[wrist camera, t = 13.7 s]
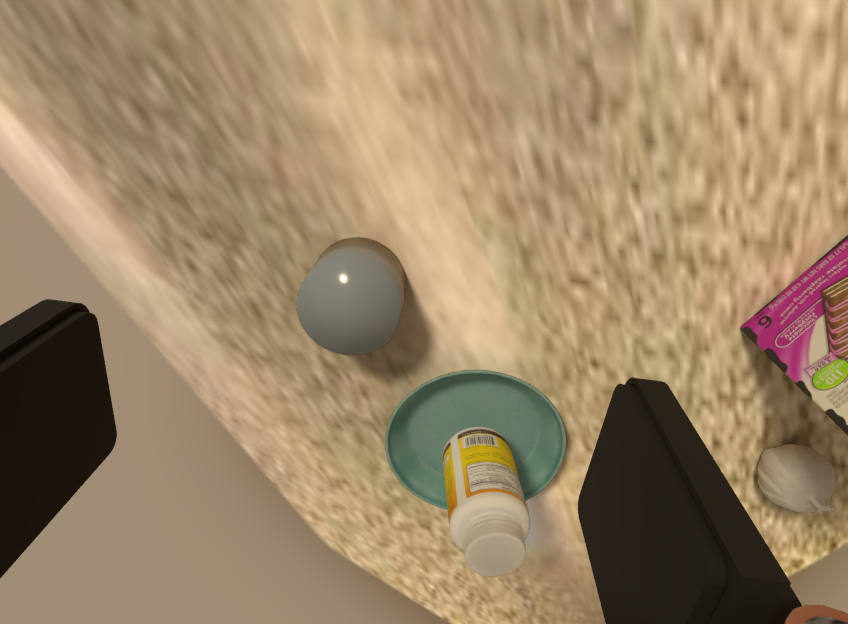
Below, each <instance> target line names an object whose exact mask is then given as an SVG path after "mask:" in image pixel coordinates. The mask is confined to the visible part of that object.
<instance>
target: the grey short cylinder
mask: <svg viewBox="0 0 848 624" xmlns="http://www.w3.org/2000/svg"><path fill="white" fill-rule="evenodd" d="M405 292H406V276H405V272H404V269H403V266H402V264H401V262H400V261H399V259H398V258H397V256H396V255H395V254H394V253H393V252H392V251H391V250H390V249H388V248H387V247H386V246H384V245H383V244H381V243H379V242H377V241H374V240H371V239H367V238H359V237H356V238H347V239H343V240H340V241H338V242H335V243H334V244H332V245H331V246H329V247H328V248H327V249H326V250H325V251H324V252H323V253H322V254H321V256H320V257H319V259H318V260H317V262H316V263H315V265H314V266H313V268H312V269H311V271H310V272H309V274H308V275H307V277H306V278H305V280H304V281H303V283H302V284H301V286H300V289H299V291H298V295H297V301H296V305H297V314H298V317H299V320H300V323H301V325H302V327H303V328H304V330H305V332H306V333H307V334H308V335H309V336H310V337H311V338H312V339H313V340H314V341H315V342H316V343H317V344H319V345H320V346H322V347H323V348H325V349H327V350H329V351H332V352H335V353H338V354H342V355H363V354H367V353H371V352H373V351H376V350H377V349H379V348H381V347H382V346H384V345H385V344H386V343H387V342H388V341H389V340H390V339H391V338H392V337H393V335H394V333H395V332H396V330H397V327H398V325H399V321H400V316H401V311H402V306H403V301H404V297H405Z"/></svg>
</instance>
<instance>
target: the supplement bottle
mask: <svg viewBox="0 0 848 624" xmlns="http://www.w3.org/2000/svg"><path fill="white" fill-rule="evenodd" d="M443 468H444V478H445V488H446V497H447V507H448V517H449V528H450V533H451V536H452V538H453V540H454V542H455V543H456V544H457V546H458V547H460V548H461V549H462V550H463V551H464V554H465V560H466V563H467V565H468V566H469V568H470V569H471V570H473V571H474V572H476V573H478V574H480V575H483V576H489V577H497V576H503V575H506V574H509V573H511V572H513V571H515V570H516V569H518V568H519V567H520V566H521V564H522V563H523V561H524V559H525V556H526V549H525V544H524V540H525V539H526V537H527V535H528V533H529V529H530V516H529V512H528V509H527V505H526V502H525V498H524V495H523V491H522V487H521V484H520V481H519V477H518V473H517V469H516V466H515V462H514V459H513V455H512V452H511V448H510V446H509V443H508V442H507V440H506V439H505V438H504V437H503V436H502V435H501V434H500V433H499V432H497V431H495V430H493V429H490V428H486V427H471V428H467V429H464V430H462V431H460V432H458V433H456V434H455V435H454V436H452V437H451V438H450V440H449V441H448V442H447V444H446V446H445V448H444V451H443Z"/></svg>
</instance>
